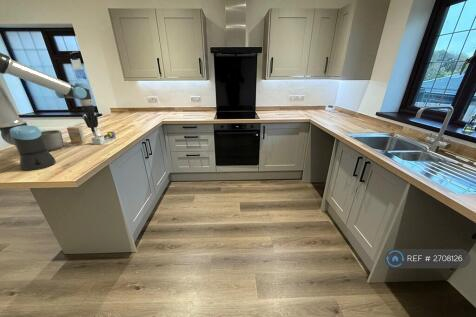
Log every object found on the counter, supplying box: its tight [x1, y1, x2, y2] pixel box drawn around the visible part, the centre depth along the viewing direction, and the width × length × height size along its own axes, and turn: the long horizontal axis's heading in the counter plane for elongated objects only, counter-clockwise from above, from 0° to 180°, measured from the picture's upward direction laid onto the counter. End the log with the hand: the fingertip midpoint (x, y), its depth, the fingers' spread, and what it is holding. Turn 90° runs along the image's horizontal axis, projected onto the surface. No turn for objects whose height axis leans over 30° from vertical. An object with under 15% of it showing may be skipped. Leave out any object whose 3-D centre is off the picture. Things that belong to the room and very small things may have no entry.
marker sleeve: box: [94, 129, 106, 142], centre depth 157 cm, size 3×5×9 cm, turn 85°
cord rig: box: [91, 131, 117, 146], centre depth 163 cm, size 20×8×6 cm, turn 175°
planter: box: [41, 129, 64, 152], centre depth 141 cm, size 14×14×13 cm
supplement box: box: [66, 126, 86, 144], centre depth 157 cm, size 8×5×13 cm, turn 105°
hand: (95, 135), depth 153 cm, fingers closed
